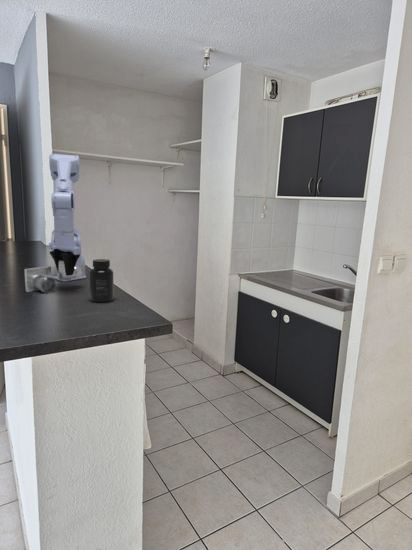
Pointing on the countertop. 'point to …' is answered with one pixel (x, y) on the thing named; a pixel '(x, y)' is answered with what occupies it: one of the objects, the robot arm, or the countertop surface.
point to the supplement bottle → (101, 281)
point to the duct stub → (39, 279)
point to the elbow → (78, 272)
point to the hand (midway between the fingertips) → (65, 273)
